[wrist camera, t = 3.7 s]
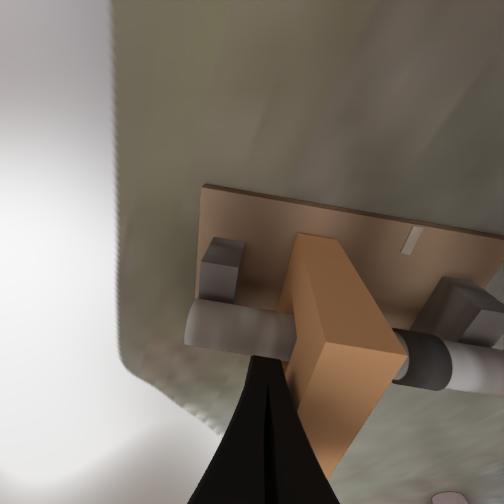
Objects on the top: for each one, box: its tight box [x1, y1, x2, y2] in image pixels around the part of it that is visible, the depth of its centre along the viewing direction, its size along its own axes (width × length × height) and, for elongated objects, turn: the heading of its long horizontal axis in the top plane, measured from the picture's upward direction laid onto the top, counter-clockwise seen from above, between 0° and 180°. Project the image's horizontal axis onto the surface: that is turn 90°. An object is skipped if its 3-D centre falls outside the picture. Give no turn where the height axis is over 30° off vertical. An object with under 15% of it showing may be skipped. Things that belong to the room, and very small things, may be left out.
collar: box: [277, 233, 408, 480], centre depth 13 cm, size 2×9×9 cm, turn 171°
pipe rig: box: [184, 184, 504, 398], centre depth 15 cm, size 19×12×7 cm, turn 81°
